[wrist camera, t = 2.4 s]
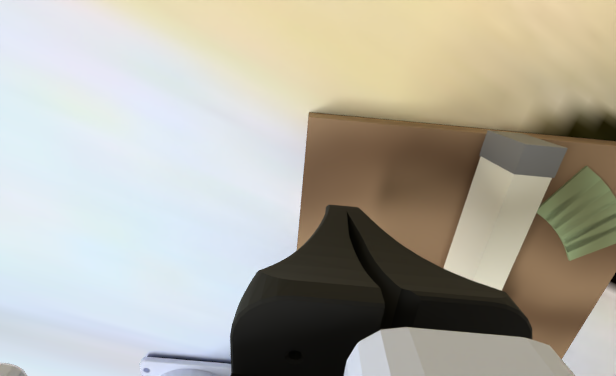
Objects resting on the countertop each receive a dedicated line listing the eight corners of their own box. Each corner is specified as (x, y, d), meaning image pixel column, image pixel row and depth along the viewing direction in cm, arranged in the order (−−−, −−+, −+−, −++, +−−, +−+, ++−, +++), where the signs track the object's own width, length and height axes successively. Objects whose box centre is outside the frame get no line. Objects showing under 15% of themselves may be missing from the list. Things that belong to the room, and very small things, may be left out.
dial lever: (461, 323, 18) (484, 362, 15) (413, 318, 18) (428, 358, 15) (537, 134, 13) (586, 149, 11) (472, 128, 13) (506, 142, 11)
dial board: (514, 393, 23) (528, 415, 21) (286, 374, 22) (283, 395, 21) (655, 145, 15) (692, 153, 14) (309, 112, 15) (308, 117, 13)
